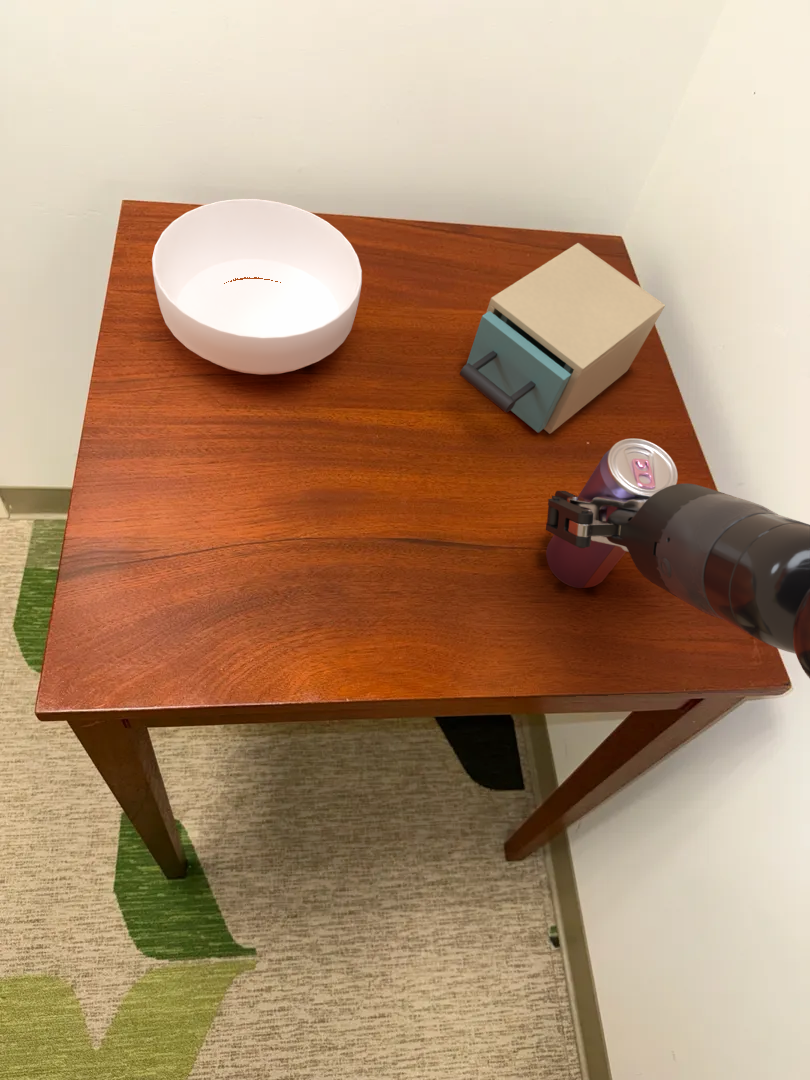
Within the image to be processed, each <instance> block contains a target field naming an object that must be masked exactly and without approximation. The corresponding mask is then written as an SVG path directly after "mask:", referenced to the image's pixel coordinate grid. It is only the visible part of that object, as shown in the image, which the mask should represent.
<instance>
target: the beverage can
mask: <svg viewBox="0 0 810 1080" xmlns="http://www.w3.org/2000/svg"><path fill="white" fill-rule="evenodd" d="M678 477H679V476H678V469H677V466H676V464H675V462H674V460H673V459H672V457H671V456H670V455H669V453H667V452H666V451H665V449H663V448H662V447H660V445H657V444H655V443H653V442H651V441H649V440H646V439H642V438H636V437H635V438H633V437H632V438H625V439H621V440H619V441H618V442H615V444H613V445H612V446H611V447H610V449H608V450H607V451H606V452H605V453H604V454H603V456H602V458H601V459H600V461H599V462H598V464H597V466H595V469H594V470H593V472H592V474H591V475H590V477H589V478H588V479H587V481H586V482H585V484H584V487H583V488H582V489H581V491H580V493H578V495H577V496H578V497H580V498H583V499H589V500H592V499H593V498H596V497H600V496H610V497H616V498H622V499H628V500H631V499H636V498H642V499H649V498H650V497H651V496H652V495H654V494H655V493H657V492H658V491H660V490H662V489H664V488H666V487H669V486H672V485H676V484H678ZM582 508H583V509H589V508H584V507H582ZM616 509H617V507H612V506H608V508H607V516H606V521H607V519H608V517H609V515H610V514H612V513H613V512H614V511H615V510H616ZM545 551H546V552H545V556H546V557H545V558H546V560H547V564H548V567H549V569H550V571H551V573H552V574H553V575H554V576H555V577H556V578H557V580H558V581H560V582H562V583H563V584H565V585H567V586H570V587H573V588H577V589H588V588H593V587H595V586H597V585H599V584H601V583H602V582H603V581H604V580H605V579H606V577H607V576H608V575H609V573H610V572H611V571H612V570H613V569H614V568H615V567H616V565H617V564H618V563H619V561H620V560H621V559H622V558H623V556H624V555H625V554H626V553H627V551H624V550H623V549H622V548H621V547H619V546H614V545H610V544H605V543H600V542H595V541H592V540H591V544H590V547H585V548H579V547H577V546H574V545H572V544H571V543H569V542H567V541H565V540H563V539H561V538H560V537H558V536H556V535H554V534H553V536H552V537H551V539H550V541H549V542H548V544H547V547H546V550H545Z"/></svg>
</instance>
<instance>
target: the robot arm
mask: <svg viewBox="0 0 810 1080" xmlns="http://www.w3.org/2000/svg"><path fill="white" fill-rule="evenodd" d="M578 496H579V495H575V494H573V493H571V492H570V491H566V490H556V491H555V493H554V495H551V498H548V500H547V506H548V507H547V518H546V524H545V531H546V532H549V534H550V533H551V534H552V535H553V536H554V535H556V536H558V537H560V538H561V539H563V540H565V541H567V542H569V543H571V544H572V545H574V546H577V547H579V548H585V547H590V544H591V540H592V541H595V542H600V543H605V544H610V545H614V546H619V547H621V548H622V549H623V550H624V551H626V553H627V552H628V553H629V556H630V557H631V560H632V562H633V564H634V566H635V568H636V569H637V571H638V572H639V573H640V574H641V575H642V576H643V577H644V578H645V579H646V580H648V581H649V582H650V583H653V584H654V585H656V586H657V587H659V588H661V589H663V590H664V591H666V592H667V593H669V594H671V595H673V596H674V597H676V598H677V599H679V600H681V601H683V602H685V603H687V605H690V606H691V607H693V608H695V609H696V610H698V611H699V612H702V613H704V614H706V615H709V616H711V617H714V618H717V619H721V620H723V621H724V622H727V623H728V624H730V625H732V626H734V627H735V628H737V629H738V630H740V631H742V632H744V633H746V635H749V636H751V637H752V638H754V639H757V640H758V641H760V642H762V643H764V644H765V645H768V646H770V647H772V648H776V649H778V650H781V651H783V652H788V653H791V654H795V656H796V659H797V661H798V662H799V665H800V668H802V670H803V672H804V674H805V675H806V676H807V678H808V679H810V524H809V523H805V522H803V521H801V520H796V519H793V518H790V517H787V516H784V515H780V514H778V513H777V512H775V511H773V510H772V509H770V508H769V507H765V506H764V505H761V504H759V503H756V502H754V501H750V500H747V499H743V498H741V497H737V496H734V495H731V494H728V493H725V492H722V491H719V490H715V489H712V488H709V487H705V486H702V485H700V484H699V485H698V484H696V483H695V484H694V483H676V485H672V486H669V487H666V488H664V489H662V490H660V491H658V492H657V493H655V494H654V495H652V496H651V497H650V498H649V499H642V498H636V499H631V500H628V499H622V498H616V497H610V496H600V497H596V498H593V499H592V500H589V499H583V498H580V497H578ZM608 506H612V507H617V509H616V510H615V511H614V512H613V513H612V514H610V515H609V517H608V519H607V521H606V516H607V508H608ZM582 507H584V508H589V509H583V508H582Z"/></svg>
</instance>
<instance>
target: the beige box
mask: <svg viewBox="0 0 810 1080" xmlns="http://www.w3.org/2000/svg"><path fill="white" fill-rule="evenodd" d="M665 307H666V304H664V303H663V302H662V301H660V300H659V299H657V298H656V296H654V295H652V294H651V293H649V292H648V291H646V290H645V289H644V288H642V287H641V286H639V285H638V284H637V283H635V282H634V281H633V280H631V279H630V278H628V277H627V276H626V275H624V274H623V273H622V272H620V271H619V270H617V269H616V268H615V267H613V266H612V265H610V264H609V263H607V261H605V260H603V259H601V258H600V257H599V256H598V255H596V254H595V253H593V252H592V251H590V249H588V248H587V247H586V246H584V245H582V244H581V243H580V242H577V243H575V244H573V245H572V246H571V247H569V248H567V249H566V250H564V251H563V252H561V253H560V254H558V255H557V256H555V257H553V258H552V259H550V260H548V261H546V262H545V263H544V264H542V265H540V266H539V267H537V268H535V269H534V270H533V271H531V272H529V273H528V274H526V275H525V276H523V277H521V278H520V279H519V280H517V281H515V282H514V283H512V284H511V285H509V286H507V287H506V288H504V289H503V290H501V291H500V292H498V293H496V294H495V295H493V296H492V297H490V299H489V303H488V306H487V309H486V312H485V314H486V313H487V312H489V311H491V312H492V313H493V314H494V315H496V316H497V317H498V318H499V319H501V316H502V314H503V315H504V316H506V317H507V318H508V319H509V320H511V321H512V322H513V323H515V324H516V325H517V326H518V327H520V328H521V329H522V330H524V331H525V332H526V333H527V334H529V335H530V336H531V337H533V338H534V339H535V340H536V341H538V342H539V343H540V344H542V345H543V346H544V347H545V348H547V349H548V350H549V351H551V352H552V353H553V354H554V355H556V356H557V357H558V358H560V359H561V360H562V361H563V362H565V363H566V364H567V365H569V366H570V367H571V368H572V369H574V371H573V373H572V375H571V377H570V379H569V381H568V383H567V385H566V387H565V389H564V391H563V393H562V395H561V397H560V399H559V401H558V403H557V405H556V407H555V409H554V411H553V412H552V414H551V416H550V418H549V420H548V422H547V425H546V427H545V428H544V429H543V430H544V431H545V432H547V433H548V434H552V433H553V432H554V431H556V430H557V429H558V428H560V427H561V425H563V424H564V423H566V421H568V420H569V419H570V418H572V417H574V415H575V414H577V413H578V412H579V411H580V410H581V409H582V408H584V407H585V406H586V405H588V404H589V403H590V402H591V401H592V400H594V399H595V398H596V397H597V396H599V395H600V394H601V393H603V392H604V391H605V390H606V389H607V388H608V387H610V386H611V385H612V384H613V383H615V382H616V381H617V380H618V379H619V378H621V377H622V376H623V375H624V374H626V373H627V372H628V370H629V369H630V368H631V366H632V365H633V362H634V361H635V359H636V357H637V355H638V354H639V352H640V350H641V348H642V347H643V345H644V343H645V341H646V340H647V338H648V336H649V334H650V333H651V331H652V330H653V328H654V326H655V324H656V323H657V321H658V319H659V318H660V316H661V314H662V312H663V311H664V309H665Z"/></svg>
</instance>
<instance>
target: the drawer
mask: <svg viewBox="0 0 810 1080" xmlns="http://www.w3.org/2000/svg"><path fill="white" fill-rule="evenodd" d="M486 312H487V311H486ZM486 312H485V313H484V314H483V315H481V318H480V321H479V324H478V327H477V330H476V334H475V337H474V340H473V343H472V346H471V349H470V352H469V355H468V358H467V361H466V364H464V366H463V367H462V368H461V369H460V372H459V376H461V377H462V378H463V379H464V380H465V381H467V382H468V383H469V384H470V385H472V386H473V387H474V388H475V389H476V390H478V391H479V392H480V393H481V394H483V395H484V396H485V397H486V398H487V399H488V400H490V401H491V402H492V403H493V404H495V405H496V406H497V407H498V408H499V409H500V410H502V411H503V412H505V414H506V413H509V412H510V411H511V412H512V413H513V414H515V415H516V416H517V417H518V419H520V420H522V421H523V422H524V423H525V424H527V425H528V426H529V428H531V429H533V431H535V432H536V433H538V434H539V433H540V432H541V431H543V430H544V428H545V427H546V425H547V422H548V420H549V418H550V416H551V414H552V412H553V411H554V409H555V407H556V405H557V403H558V401H559V399H560V397H561V395H562V393H563V391H564V389H565V387H566V385H567V383H568V381H569V379H570V377H571V375H572V373H573V371H574V369H572V368H571V367H570V366H569V365H567V364H566V363H565V362H563V361H562V360H561V359H560V358H558V357H557V356H556V355H554V354H553V353H552V352H551V351H549V350H548V349H547V348H545V347H544V346H543V345H542V344H540V343H539V342H538V341H536V340H535V339H534V338H533V337H531V336H530V335H529V334H527V333H526V332H525V331H524V330H522V329H521V328H520V327H518V326H517V325H516V324H515V323H513V322H512V321H511V320H509V319H508V318H507V317H506V316H504V315H503V314H502V316H501V319H499V318H498V317H497V316H496V315H494V314H493V313H492V312H491V311H489V312H487V313H486Z"/></svg>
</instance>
